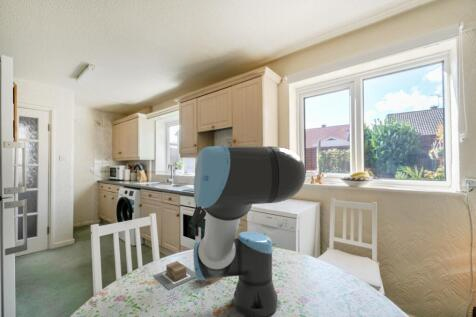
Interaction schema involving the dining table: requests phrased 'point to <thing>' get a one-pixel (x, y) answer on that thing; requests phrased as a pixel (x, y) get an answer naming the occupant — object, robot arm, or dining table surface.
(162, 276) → the mat
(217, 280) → the oak block
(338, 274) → the dining table surface
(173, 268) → the base block
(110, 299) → the dining table surface
